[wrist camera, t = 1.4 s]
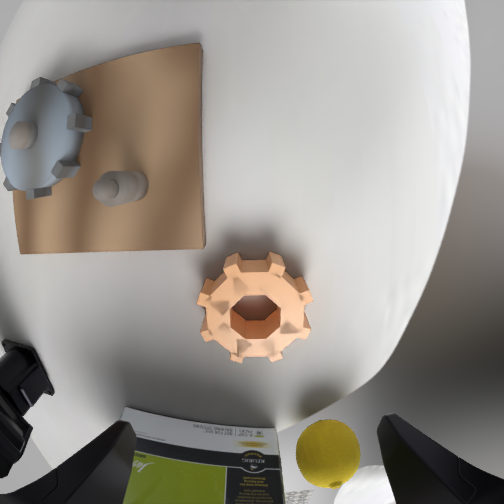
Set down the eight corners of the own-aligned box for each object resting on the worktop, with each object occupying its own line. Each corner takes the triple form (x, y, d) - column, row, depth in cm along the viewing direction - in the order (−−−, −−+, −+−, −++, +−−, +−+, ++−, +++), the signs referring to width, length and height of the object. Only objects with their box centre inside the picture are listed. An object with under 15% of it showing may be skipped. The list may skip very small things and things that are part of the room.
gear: (208, 343, 19) (204, 362, 17) (199, 252, 17) (192, 264, 15) (302, 341, 19) (308, 360, 17) (307, 250, 17) (315, 261, 15)
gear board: (29, 250, 17) (-14, 269, 12) (25, 102, 14) (-17, 93, 9) (206, 244, 17) (187, 272, 12) (202, 50, 14) (185, 8, 9)
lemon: (284, 414, 21) (293, 487, 14) (342, 395, 21) (368, 464, 13) (299, 442, 23) (309, 504, 15) (351, 425, 22) (371, 485, 15)
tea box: (140, 452, 24) (111, 547, 10) (125, 402, 21) (72, 523, 7) (264, 470, 25) (268, 572, 10) (280, 425, 22) (294, 563, 8)
